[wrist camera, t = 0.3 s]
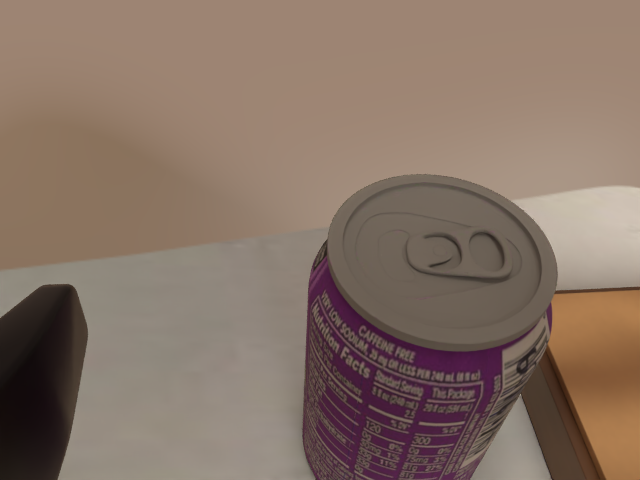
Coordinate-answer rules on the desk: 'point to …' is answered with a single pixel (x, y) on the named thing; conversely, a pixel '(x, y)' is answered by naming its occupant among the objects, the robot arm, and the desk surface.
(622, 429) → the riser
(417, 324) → the beverage can
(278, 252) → the desk surface
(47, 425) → the robot arm
